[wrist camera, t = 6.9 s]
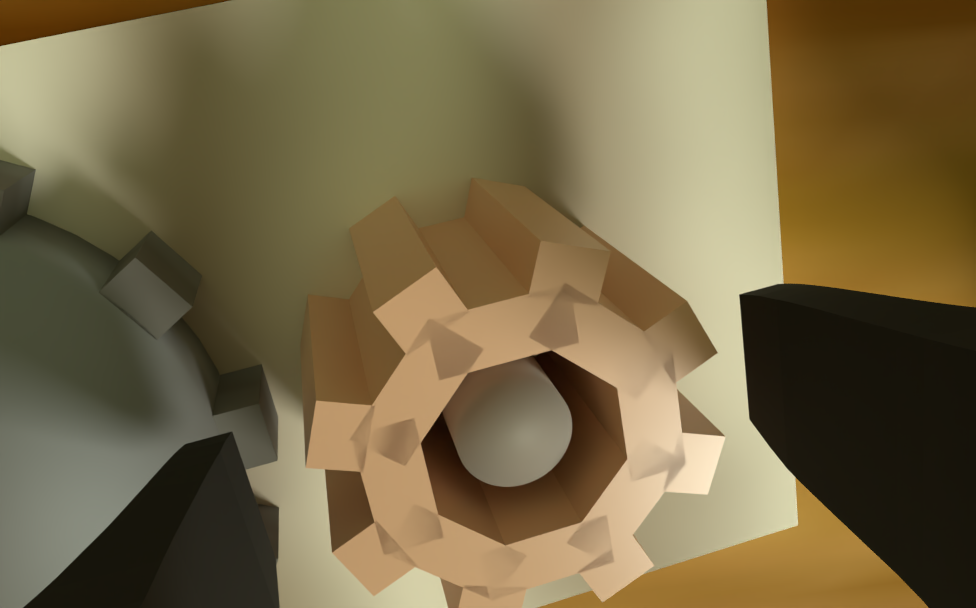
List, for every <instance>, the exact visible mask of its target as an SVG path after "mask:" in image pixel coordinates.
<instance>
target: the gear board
mask: <svg viewBox="0 0 976 608" xmlns="http://www.w3.org/2000/svg"><path fill="white" fill-rule="evenodd" d="M472 178H478V179H484V180H490V181H496V182H502V183H508V184H514V185H520V186H525V187H526V188H528V189H529V190H530V191H532V192H533V193H534V194H536V195H537V196H538V197H540V198H541V199H542V200H543V201H545V202H546V203H547V204H549V205H550V206H551V207H553V208H554V209H555V210H557V211H558V212H559V213H561V214H562V215H563V216H565V217H566V218H567V219H569V220H570V221H571V222H573V223H574V224H575V225H577V226H578V227H579V228H581V227H582V226H586V227H587V228H588V229H590V230H591V231H593V232H594V233H595V234H597V235H598V236H599V237H601V238H602V239H603V240H605V241H606V242H607V243H609V244H610V245H612V246H613V247H614V248H616V249H617V250H618V251H620V252H621V253H622V254H624V255H625V256H627V257H628V258H629V259H631V260H632V261H633V262H635V263H636V264H637V265H639V266H640V267H642V268H643V269H644V270H646V271H647V272H648V273H650V274H651V275H652V276H654V277H655V278H657V279H658V280H659V281H661V282H662V283H663V284H665V285H666V286H667V287H669V288H670V289H672V290H673V291H674V292H676V293H677V294H678V295H680V296H681V297H682V298H684V299H685V300H687V301H688V303H689V305H690V307H691V308H692V310H693V312H694V313H695V315H696V317H697V318H698V320H699V322H700V323H701V325H702V327H703V329H704V330H705V332H706V334H707V335H708V337H709V339H710V340H711V342H712V344H713V345H714V347H715V349H716V351H717V352H718V353H717V354H716V355H714V356H713V357H711V358H710V359H709V360H707V361H706V362H704V363H703V364H701V365H700V366H699V367H697V368H696V369H694V370H693V371H692V372H690V373H689V374H687V375H686V376H685V377H683V378H682V379H680V380H679V381H677V382H676V384H677V389H678V390H679V391H680V392H681V393H682V394H683V395H684V396H685V397H686V398H687V399H688V400H689V401H690V402H691V403H692V404H693V405H694V406H695V407H696V408H697V409H698V410H699V411H700V412H701V413H702V414H703V415H704V416H705V417H706V418H707V419H708V420H709V421H710V422H711V423H712V424H713V425H714V426H715V427H716V428H718V429H719V430H720V431H721V432H722V433H723V434H724V435H725V436H726V437H725V441H724V444H723V447H722V450H721V454H720V457H719V460H718V463H717V466H716V470H715V473H714V476H713V479H712V483H711V486H710V489H709V492H708V495H706V494H691V493H676V492H664V494H663V495H662V496H661V498H660V499H659V500H658V502H657V503H656V504H655V506H654V507H653V508H652V510H651V511H650V512H649V514H648V515H647V517H646V518H645V519H644V521H643V522H642V523H641V525H640V526H639V527H638V529H637V530H636V531H635V533H634V535H635V537H636V538H637V540H638V541H639V543H640V544H641V546H642V547H643V549H644V550H645V552H646V553H647V555H648V556H649V558H650V559H651V561H652V563H653V564H654V566H653V567H652V568H650V569H649V570H648V571H646V572H645V573H648V572H651V571H654V570H657V569H661V568H664V567H667V566H670V565H673V564H676V563H680V562H683V561H686V560H689V559H692V558H696V557H699V556H702V555H705V554H708V553H711V552H715V551H718V550H721V549H724V548H727V547H730V546H734V545H737V544H740V543H743V542H746V541H749V540H753V539H756V538H759V537H762V536H765V535H768V534H772V533H775V532H778V531H781V530H784V529H787V528H791V527H794V526H797V525H798V516H797V499H796V483H795V476H794V475H793V474H792V473H791V472H790V471H789V470H788V469H787V468H786V467H785V465H784V464H783V463H782V462H781V460H780V459H779V458H778V457H777V455H776V454H775V453H774V452H773V450H772V449H771V448H770V447H769V445H768V444H767V443H766V441H765V440H764V439H763V437H762V436H761V434H760V433H759V432H758V430H757V429H756V428H755V426H754V425H753V424H752V422H751V421H750V420H749V409H748V397H747V384H746V372H745V360H744V348H743V335H742V323H741V311H740V299H739V294H743V293H746V292H750V291H754V290H758V289H761V288H765V287H769V286H772V285H776V284H783V268H782V251H781V234H780V218H779V201H778V185H777V168H776V152H775V135H774V119H773V102H772V86H771V69H770V52H769V36H768V19H767V3H766V0H231V1H226V2H221V3H216V4H211V5H206V6H201V7H196V8H190V9H185V10H180V11H175V12H170V13H165V14H160V15H155V16H150V17H145V18H140V19H135V20H130V21H125V22H120V23H115V24H110V25H105V26H99V27H94V28H89V29H84V30H79V31H74V32H69V33H64V34H59V35H54V36H49V37H44V38H39V39H34V40H29V41H24V42H19V43H14V44H8V45H3V46H0V608H23V607H24V606H25V605H27V604H28V603H29V602H30V601H31V600H32V599H33V598H35V597H36V596H37V595H38V594H39V593H40V592H41V591H42V590H44V589H45V588H46V587H47V586H48V585H49V584H50V583H51V582H52V581H53V580H54V579H56V578H57V577H58V576H59V575H60V574H61V573H62V572H63V571H64V570H65V569H66V568H67V567H68V566H69V565H70V564H71V563H72V562H73V561H74V560H75V559H76V558H77V557H78V556H79V555H80V554H81V553H82V552H83V551H84V550H85V549H86V548H87V547H88V546H89V545H90V544H91V543H92V542H93V541H94V540H95V539H96V538H97V537H98V536H99V535H100V534H101V533H102V532H103V531H104V530H105V529H106V528H107V527H108V526H109V525H110V524H111V523H112V521H113V520H114V519H115V518H116V517H117V516H118V515H119V514H120V513H121V512H122V511H123V509H124V508H125V507H126V506H127V505H128V504H129V503H130V502H131V501H132V500H133V498H134V497H135V496H136V495H137V494H138V493H139V492H140V491H141V490H142V489H143V487H144V486H145V485H146V484H147V483H148V482H149V481H150V480H151V479H152V477H153V476H154V475H155V474H156V473H157V472H158V471H159V470H160V469H161V467H162V466H163V465H164V464H165V463H166V462H167V461H168V460H169V459H170V458H171V457H172V456H173V455H174V454H175V453H176V452H177V451H178V450H179V449H180V448H181V447H182V446H184V445H185V444H187V443H191V442H195V441H198V440H202V439H206V438H209V437H213V436H217V435H220V434H224V433H228V432H233V435H234V438H235V441H236V444H237V447H238V450H239V453H240V456H241V458H242V461H243V464H244V467H245V470H246V473H247V476H248V479H249V482H250V485H251V488H252V491H253V494H254V496H255V499H256V502H257V505H258V508H259V511H260V514H261V517H262V520H263V523H264V526H265V529H266V532H267V534H268V537H269V540H270V543H271V546H272V549H273V552H274V555H275V558H276V568H277V580H278V591H279V605H280V608H448V605H447V602H446V598H445V594H444V591H443V587H442V583H441V579H440V578H439V577H437V576H435V575H432V574H430V573H428V572H425V571H423V570H421V569H418V568H416V567H415V568H413V569H412V570H410V571H409V572H408V573H406V574H405V575H403V576H402V577H400V578H399V579H398V580H396V581H395V582H393V583H392V584H391V585H389V586H388V587H386V588H385V589H384V590H382V591H381V592H379V593H378V594H376V595H375V596H373V595H372V594H371V593H370V592H369V591H368V590H367V589H366V588H365V587H364V586H363V585H362V584H361V583H360V581H359V580H358V579H357V578H356V577H355V576H354V575H353V574H352V573H351V572H350V571H349V570H348V569H347V568H346V567H345V566H344V565H343V564H342V563H341V562H340V561H339V560H338V559H337V558H336V556H335V555H334V554H333V553H332V548H331V536H330V524H329V513H328V501H327V489H326V478H325V469H312V468H306V465H305V442H304V420H303V397H302V375H301V353H300V344H301V337H302V330H303V323H304V317H305V310H306V303H307V296H308V295H317V296H325V297H333V298H341V299H349V298H350V297H351V295H352V294H353V292H354V290H355V289H356V287H357V286H358V284H359V283H360V281H361V279H362V278H363V276H362V272H361V269H360V265H359V262H358V258H357V255H356V251H355V248H354V244H353V241H352V237H351V234H350V231H349V228H350V227H352V226H353V225H355V224H356V223H357V222H359V221H360V220H362V219H363V218H364V217H366V216H367V215H369V214H370V213H371V212H373V211H374V210H376V209H377V208H378V207H380V206H381V205H383V204H384V203H385V202H387V201H388V200H390V199H391V198H392V197H394V196H396V198H397V199H398V201H399V202H400V203H401V205H402V206H403V207H404V209H405V210H406V212H407V213H408V214H409V216H410V217H411V218H412V220H413V221H414V223H415V224H416V225H417V227H418V228H422V227H426V226H430V225H435V224H439V223H443V222H447V221H451V220H455V219H459V218H463V217H464V215H465V210H466V205H467V200H468V195H469V190H470V185H471V179H472ZM537 355H538V354H536V355H532V356H528V357H525V358H521V359H517V360H514V361H510V362H506V363H502V364H499V365H495V366H491V367H488V368H484V369H480V370H477V371H473V372H469V373H467V375H466V376H465V378H464V379H463V381H462V382H461V384H460V385H459V387H458V388H457V390H456V391H455V393H454V394H453V396H452V397H451V399H450V400H449V402H448V403H447V405H446V406H445V408H444V409H443V411H442V413H443V416H444V418H445V421H446V424H447V426H448V429H449V431H450V434H451V437H452V439H453V442H454V444H455V447H456V450H457V452H458V455H459V457H460V459H461V461H462V463H463V465H464V466H465V468H466V469H467V470H468V471H469V472H470V473H471V474H472V475H473V476H474V477H476V478H477V479H479V480H481V481H483V482H485V483H487V484H491V485H494V486H501V487H513V486H520V485H524V484H527V483H530V482H533V481H535V480H537V479H539V478H540V477H542V476H544V475H545V474H547V473H548V472H549V471H550V470H552V469H553V468H554V467H555V466H556V465H557V463H558V462H559V461H560V460H561V458H562V457H563V455H564V454H565V452H566V450H567V448H568V445H569V442H570V439H571V434H572V418H571V414H570V411H569V408H568V406H567V404H566V402H565V401H564V399H563V398H562V396H561V395H560V393H559V392H558V391H557V389H556V388H555V386H554V385H553V384H552V382H551V381H550V379H549V378H548V376H547V375H546V374H545V372H544V371H543V369H542V368H541V367H540V365H539V364H538V362H537V361H536V360H535V358H536V357H537ZM645 573H643V574H645ZM591 590H592V589H591V587H590V586H589V585H588V584H587V582H586V581H585V580H584V578H583V577H582V576H581V575H580V573H578V574H575V575H571V576H568V577H565V578H562V579H559V580H555V581H552V582H549V583H546V584H543V585H539V586H536V587H533V588H530V589H527V590H526V593H525V597H524V601H523V605H522V608H537V607H540V606H543V605H547V604H550V603H553V602H556V601H559V600H562V599H566V598H569V597H572V596H575V595H578V594H581V593H585V592H588V591H591Z"/></svg>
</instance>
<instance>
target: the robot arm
mask: <svg viewBox="0 0 976 608" xmlns="http://www.w3.org/2000/svg"><path fill="white" fill-rule="evenodd" d="M739 299H740V311H741V323H742V335H743V348H744V360H745V372H746V384H747V397H748V409H749V420H750V421H751V422H752V424H753V425H754V426H755V428H756V429H757V430H758V432H759V433H760V434H761V436H762V437H763V439H764V440H765V441H766V443H767V444H768V445H769V447H770V448H771V449H772V450H773V452H774V453H775V454H776V455H777V457H778V458H779V459H780V460H781V462H782V463H783V464H784V465H785V467H786V468H787V469H788V470H789V471H790V472H791V473H792V474H793V475H794V476H795V477H796V478H797V479H798V480H799V481H800V482H801V483H802V484H803V485H804V486H805V487H806V488H807V489H808V490H809V491H810V492H811V493H812V494H813V495H814V496H815V497H816V498H817V499H818V500H819V501H820V502H822V503H823V504H824V505H825V506H826V507H827V508H828V509H829V510H830V511H831V512H832V513H833V514H834V515H835V516H836V517H837V518H838V519H839V520H840V521H842V522H843V523H844V524H845V525H846V526H847V527H848V528H849V529H850V530H851V531H852V532H853V533H854V534H855V535H856V536H857V537H858V538H859V539H861V540H862V541H863V542H864V543H865V544H866V545H867V546H868V547H869V548H870V549H871V550H872V551H873V552H874V553H875V554H876V555H877V556H879V557H880V558H881V559H882V560H883V561H884V562H885V563H886V564H887V565H888V566H889V567H890V568H891V569H892V570H893V571H894V572H895V573H896V574H898V575H899V576H900V578H901V579H902V580H903V581H904V582H905V583H906V584H907V585H908V586H909V587H910V588H911V589H912V590H913V591H914V592H915V593H916V594H917V595H918V596H919V597H920V598H921V599H922V600H923V601H924V603H925V604H926V605H927V606H928V607H929V608H976V308H975V307H966V306H957V305H949V304H942V303H934V302H927V301H920V300H913V299H906V298H899V297H893V296H886V295H879V294H873V293H866V292H860V291H853V290H846V289H839V288H832V287H824V286H815V285H805V284H776V285H772V286H769V287H765V288H761V289H758V290H754V291H750V292H746V293H743V294H739ZM23 608H280V605H279V591H278V580H277V568H276V558H275V555H274V552H273V549H272V546H271V543H270V540H269V537H268V534H267V532H266V529H265V526H264V523H263V520H262V517H261V514H260V511H259V508H258V505H257V502H256V499H255V496H254V494H253V491H252V488H251V485H250V482H249V479H248V476H247V473H246V470H245V467H244V464H243V461H242V458H241V456H240V453H239V450H238V447H237V444H236V441H235V438H234V435H233V432H228V433H224V434H220V435H217V436H213V437H209V438H206V439H202V440H198V441H195V442H191V443H187V444H185V445H184V446H182V447H181V448H180V449H179V450H178V451H177V452H176V453H175V454H174V455H173V456H172V457H171V458H170V459H169V460H168V461H167V462H166V463H165V464H164V465H163V466H162V467H161V469H160V470H159V471H158V472H157V473H156V474H155V475H154V476H153V477H152V479H151V480H150V481H149V482H148V483H147V484H146V485H145V486H144V487H143V489H142V490H141V491H140V492H139V493H138V494H137V495H136V496H135V497H134V498H133V500H132V501H131V502H130V503H129V504H128V505H127V506H126V507H125V508H124V509H123V511H122V512H121V513H120V514H119V515H118V516H117V517H116V518H115V519H114V520H113V521H112V523H111V524H110V525H109V526H108V527H107V528H106V529H105V530H104V531H103V532H102V533H101V534H100V535H99V536H98V537H97V538H96V539H95V540H94V541H93V542H92V543H91V544H90V545H89V546H88V547H87V548H86V549H85V550H84V551H83V552H82V553H81V554H80V555H79V556H78V557H77V558H76V559H75V560H74V561H73V562H72V563H71V564H70V565H69V566H68V567H67V568H66V569H65V570H64V571H63V572H62V573H61V574H60V575H59V576H58V577H57V578H56V579H54V580H53V581H52V582H51V583H50V584H49V585H48V586H47V587H46V588H45V589H44V590H42V591H41V592H40V593H39V594H38V595H37V596H36V597H35V598H33V599H32V600H31V601H30V602H29V603H28V604H27V605H25V606H24V607H23Z"/></svg>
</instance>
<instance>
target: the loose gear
mask: <svg viewBox="0 0 976 608" xmlns="http://www.w3.org/2000/svg"><path fill="white" fill-rule="evenodd" d="M349 231H350V234H351V237H352V241H353V244H354V248H355V251H356V255H357V258H358V262H359V265H360V269H361V272H362V276H363V278H362V279H361V281H360V283H359V284H358V286H357V287H356V289H355V290H354V292H353V294H352V295H351V297H350V298H349V299H341V298H333V297H325V296H317V295H308V296H307V303H306V310H305V317H304V323H303V330H302V337H301V344H300V353H301V375H302V397H303V420H304V442H305V465H306V468H312V469H325V478H326V489H327V501H328V513H329V524H330V536H331V548H332V553H333V554H334V555H335V556H336V558H337V559H338V560H339V561H340V562H341V563H342V564H343V565H344V566H345V567H346V568H347V569H348V570H349V571H350V572H351V573H352V574H353V575H354V576H355V577H356V578H357V579H358V580H359V581H360V583H361V584H362V585H363V586H364V587H365V588H366V589H367V590H368V591H369V592H370V593H371V594H372V595H373V596H375V595H376V594H378V593H379V592H381V591H382V590H384V589H385V588H386V587H388V586H389V585H391V584H392V583H393V582H395V581H396V580H398V579H399V578H400V577H402V576H403V575H405V574H406V573H408V572H409V571H410V570H412V569H413V568H415V567H416V568H418V569H421V570H423V571H425V572H428V573H430V574H432V575H435V576H437V577H439V578H440V579H441V583H442V587H443V591H444V594H445V598H446V602H447V605H448V608H522V605H523V601H524V597H525V593H526V590H527V589H530V588H533V587H536V586H539V585H543V584H546V583H549V582H552V581H555V580H559V579H562V578H565V577H568V576H571V575H575V574H578V573H580V575H581V576H582V577H583V578H584V580H585V581H586V582H587V584H588V585H589V586H590V587H591V589H592V590H593V591H594V592H595V594H596V595H597V596H598V597H599V599H600V600H601V601H602V602H604V601H605V600H607V599H608V598H609V597H611V596H612V595H614V594H615V593H616V592H618V591H619V590H621V589H622V588H624V587H625V586H626V585H628V584H629V583H631V582H632V581H633V580H635V579H636V578H638V577H639V576H641V575H642V574H643V573H645V572H646V571H648V570H649V569H650V568H652V567H653V566H654V564H653V563H652V561H651V559H650V558H649V556H648V555H647V553H646V552H645V550H644V549H643V547H642V546H641V544H640V543H639V541H638V540H637V538H636V537H635V535H634V533H635V531H636V530H637V529H638V527H639V526H640V525H641V523H642V522H643V521H644V519H645V518H646V517H647V515H648V514H649V512H650V511H651V510H652V508H653V507H654V506H655V504H656V503H657V502H658V500H659V499H660V498H661V496H662V495H663V494H664V492H676V493H691V494H706V495H708V492H709V489H710V486H711V483H712V479H713V476H714V473H715V470H716V466H717V463H718V460H719V457H720V454H721V450H722V447H723V444H724V441H725V437H726V436H725V435H724V434H723V433H722V432H721V431H720V430H719V429H718V428H716V427H715V426H714V425H713V424H712V423H711V422H710V421H709V420H708V419H707V418H706V417H705V416H704V415H703V414H702V413H701V412H700V411H699V410H698V409H697V408H696V407H695V406H694V405H693V404H692V403H691V402H690V401H689V400H688V399H687V398H686V397H685V396H684V395H683V394H682V393H681V392H680V391H679V390H678V389H677V384H676V382H677V381H679V380H680V379H682V378H683V377H685V376H686V375H687V374H689V373H690V372H692V371H693V370H694V369H696V368H697V367H699V366H700V365H701V364H703V363H704V362H706V361H707V360H709V359H710V358H711V357H713V356H714V355H716V354H717V353H718V352H717V351H716V349H715V347H714V345H713V344H712V342H711V340H710V339H709V337H708V335H707V334H706V332H705V330H704V329H703V327H702V325H701V323H700V322H699V320H698V318H697V317H696V315H695V313H694V312H693V310H692V308H691V307H690V305H689V303H688V301H687V300H685V299H684V298H682V297H681V296H680V295H678V294H677V293H676V292H674V291H673V290H672V289H670V288H669V287H667V286H666V285H665V284H663V283H662V282H661V281H659V280H658V279H657V278H655V277H654V276H652V275H651V274H650V273H648V272H647V271H646V270H644V269H643V268H642V267H640V266H639V265H637V264H636V263H635V262H633V261H632V260H631V259H629V258H628V257H627V256H625V255H624V254H622V253H621V252H620V251H618V250H617V249H616V248H614V247H613V246H612V245H610V244H609V243H607V242H606V241H605V240H603V239H602V238H601V237H599V236H598V235H597V234H595V233H594V232H593V231H591V230H590V229H588V228H587V227H586V226H582V227H581V228H579V227H578V226H577V225H575V224H574V223H573V222H571V221H570V220H569V219H567V218H566V217H565V216H563V215H562V214H561V213H559V212H558V211H557V210H555V209H554V208H553V207H551V206H550V205H549V204H547V203H546V202H545V201H543V200H542V199H541V198H540V197H538V196H537V195H536V194H534V193H533V192H532V191H530V190H529V189H528V188H526V187H525V186H520V185H514V184H508V183H502V182H496V181H490V180H484V179H478V178H472V179H471V185H470V190H469V195H468V200H467V205H466V210H465V215H464V217H463V218H459V219H455V220H451V221H447V222H443V223H439V224H435V225H430V226H426V227H422V228H418V227H417V225H416V224H415V223H414V221H413V220H412V218H411V217H410V216H409V214H408V213H407V212H406V210H405V209H404V207H403V206H402V205H401V203H400V202H399V201H398V199H397V198H396V196H394V197H392V198H391V199H390V200H388V201H387V202H385V203H384V204H383V205H381V206H380V207H378V208H377V209H376V210H374V211H373V212H371V213H370V214H369V215H367V216H366V217H364V218H363V219H362V220H360V221H359V222H357V223H356V224H355V225H353V226H352V227H350V228H349ZM536 354H538V355H537V357H536V358H535V360H536V361H537V362H538V364H539V365H540V367H541V368H542V369H543V371H544V372H545V374H546V375H547V376H548V378H549V379H550V381H551V382H552V384H553V385H554V386H555V388H556V389H557V391H558V392H559V393H560V395H561V396H562V398H563V399H564V401H565V402H566V404H567V406H568V408H569V411H570V414H571V418H572V434H571V439H570V442H569V445H568V448H567V450H566V452H565V454H564V455H563V457H562V458H561V460H560V461H559V462H558V463H557V465H556V466H555V467H554V468H553V469H552V470H550V471H549V472H548V473H547V474H545V475H544V476H542V477H540V478H539V479H537V480H535V481H533V482H530V483H527V484H524V485H520V486H513V487H501V486H494V485H491V484H487V483H485V482H483V481H481V480H479V479H477V478H476V477H474V476H473V475H472V474H471V473H470V472H469V471H468V470H467V469H466V468H465V466H464V465H463V463H462V461H461V459H460V457H459V455H458V452H457V450H456V447H455V444H454V442H453V439H452V437H451V434H450V431H449V429H448V426H447V424H446V421H445V418H444V416H443V413H442V411H443V409H444V408H445V406H446V405H447V403H448V402H449V400H450V399H451V397H452V396H453V394H454V393H455V391H456V390H457V388H458V387H459V385H460V384H461V382H462V381H463V379H464V378H465V376H466V375H467V373H469V372H473V371H477V370H480V369H484V368H488V367H491V366H495V365H499V364H502V363H506V362H510V361H514V360H517V359H521V358H525V357H528V356H532V355H536Z"/></svg>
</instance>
